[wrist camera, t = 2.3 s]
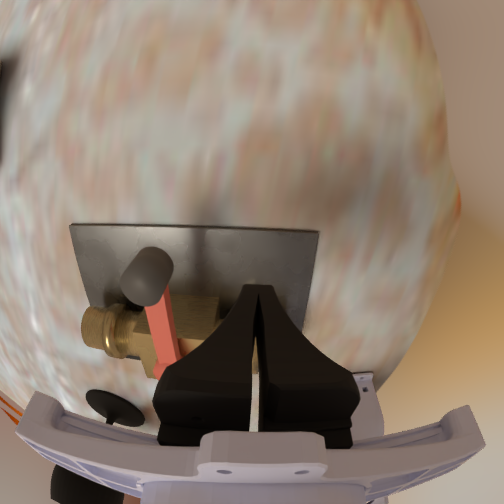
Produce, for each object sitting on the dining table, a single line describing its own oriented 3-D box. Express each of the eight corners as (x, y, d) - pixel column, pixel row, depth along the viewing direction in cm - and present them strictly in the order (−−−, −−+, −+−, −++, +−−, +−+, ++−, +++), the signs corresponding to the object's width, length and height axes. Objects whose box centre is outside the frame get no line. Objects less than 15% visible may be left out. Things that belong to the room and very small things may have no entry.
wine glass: (113, 387, 32) (70, 508, 14) (158, 424, 36) (133, 532, 19) (74, 390, 34) (33, 488, 17) (115, 425, 39) (87, 515, 21)
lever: (193, 377, 21) (188, 402, 18) (160, 373, 21) (153, 396, 18) (175, 246, 15) (162, 269, 13) (130, 244, 15) (112, 266, 13)
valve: (317, 231, 21) (334, 269, 16) (292, 369, 28) (296, 412, 23) (71, 224, 21) (34, 253, 16) (110, 352, 28) (92, 387, 24)
